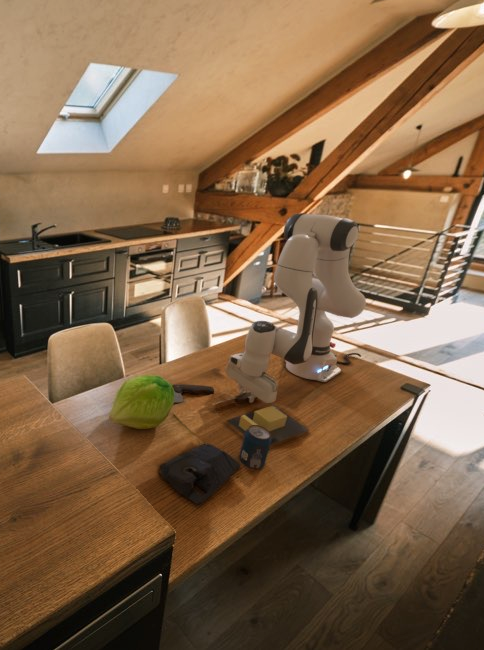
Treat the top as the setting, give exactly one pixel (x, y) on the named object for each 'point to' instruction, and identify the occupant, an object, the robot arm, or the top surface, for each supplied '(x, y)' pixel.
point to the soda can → (255, 447)
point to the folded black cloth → (199, 471)
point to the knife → (234, 400)
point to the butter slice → (245, 422)
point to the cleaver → (190, 390)
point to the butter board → (278, 432)
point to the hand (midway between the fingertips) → (245, 398)
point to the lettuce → (142, 402)
